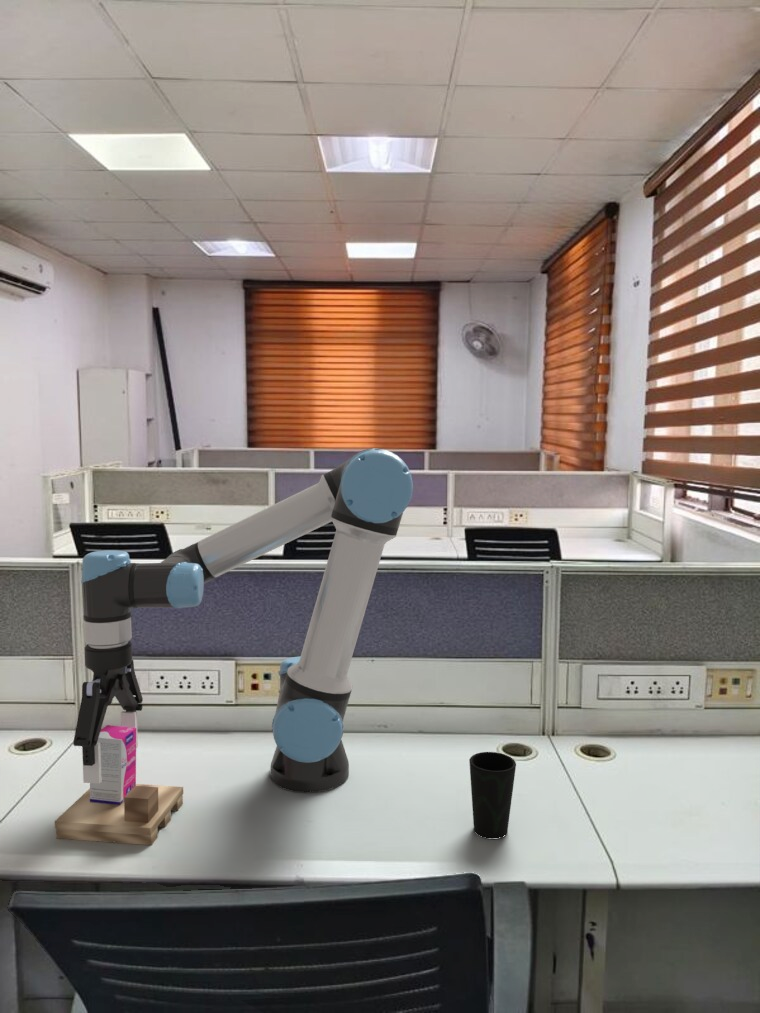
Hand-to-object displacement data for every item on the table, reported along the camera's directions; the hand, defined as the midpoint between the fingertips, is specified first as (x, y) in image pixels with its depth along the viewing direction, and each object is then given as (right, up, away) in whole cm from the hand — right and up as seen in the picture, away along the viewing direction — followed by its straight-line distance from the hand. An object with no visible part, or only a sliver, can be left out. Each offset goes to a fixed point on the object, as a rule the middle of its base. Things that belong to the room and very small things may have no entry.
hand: (112, 764), depth 126 cm
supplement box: (0, -6, +1) cm, 6 cm away
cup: (+65, -10, -3) cm, 65 cm away
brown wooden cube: (+7, -6, -6) cm, 11 cm away
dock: (+2, -9, -2) cm, 9 cm away
